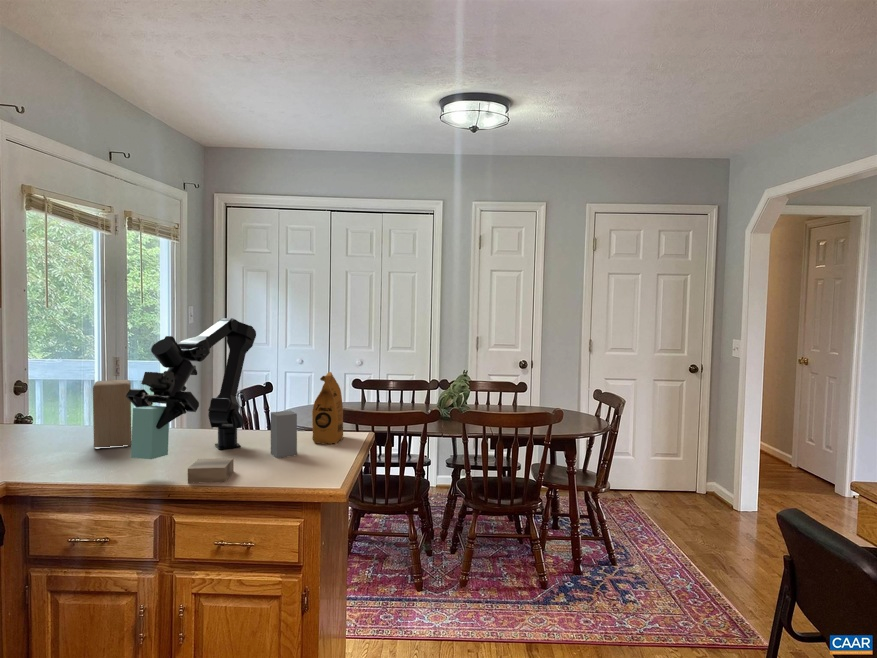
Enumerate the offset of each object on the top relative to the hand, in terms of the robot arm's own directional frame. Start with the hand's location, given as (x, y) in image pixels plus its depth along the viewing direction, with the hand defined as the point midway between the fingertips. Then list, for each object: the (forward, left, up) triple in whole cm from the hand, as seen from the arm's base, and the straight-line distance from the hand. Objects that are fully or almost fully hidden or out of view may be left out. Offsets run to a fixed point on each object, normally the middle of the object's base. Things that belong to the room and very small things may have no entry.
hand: (146, 427), depth 146 cm
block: (-44, -5, -14) cm, 46 cm away
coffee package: (-16, +55, -14) cm, 59 cm away
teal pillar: (-1, +1, -8) cm, 8 cm away
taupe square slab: (+6, +14, -14) cm, 21 cm away
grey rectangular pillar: (-6, +37, -13) cm, 40 cm away
